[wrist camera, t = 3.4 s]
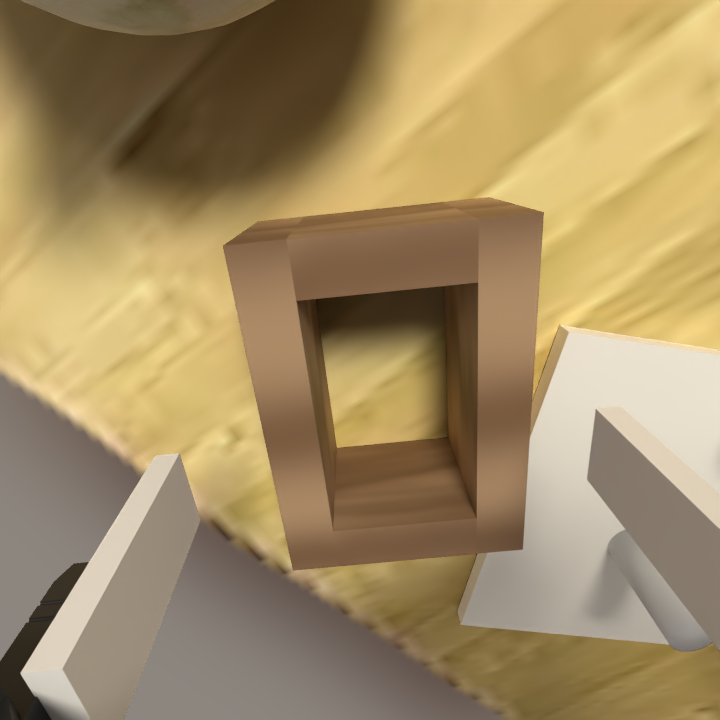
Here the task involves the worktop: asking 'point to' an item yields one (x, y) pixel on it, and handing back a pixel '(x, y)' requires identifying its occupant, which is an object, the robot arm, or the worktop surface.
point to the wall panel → (583, 504)
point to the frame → (463, 364)
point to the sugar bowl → (151, 14)
